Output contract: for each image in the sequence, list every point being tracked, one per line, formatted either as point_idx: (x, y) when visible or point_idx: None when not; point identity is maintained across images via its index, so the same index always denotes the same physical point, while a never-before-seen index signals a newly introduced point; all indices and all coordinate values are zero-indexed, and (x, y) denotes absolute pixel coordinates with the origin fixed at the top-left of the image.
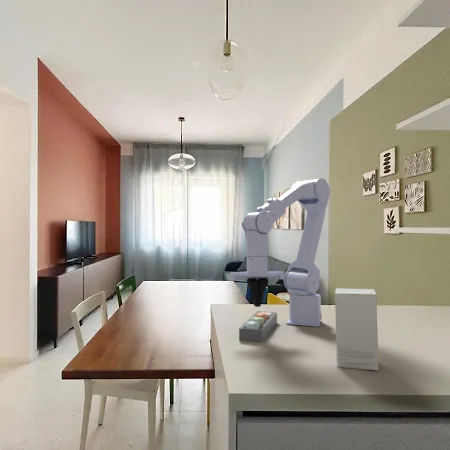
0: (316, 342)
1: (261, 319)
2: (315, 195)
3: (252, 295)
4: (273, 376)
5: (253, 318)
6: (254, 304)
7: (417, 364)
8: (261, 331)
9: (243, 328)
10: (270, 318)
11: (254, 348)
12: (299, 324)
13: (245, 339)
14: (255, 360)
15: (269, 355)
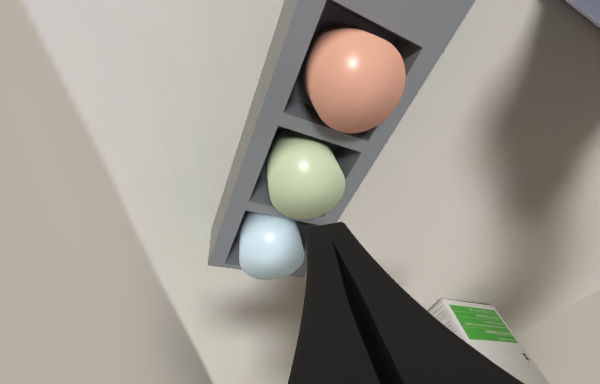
0: (461, 228)
1: (326, 207)
2: None
3: (308, 298)
4: (285, 364)
5: (285, 190)
6: (307, 252)
7: (540, 305)
8: (299, 273)
9: (227, 265)
10: (407, 92)
11: (264, 280)
12: (574, 6)
13: (236, 235)
14: (260, 330)
15: (297, 309)
